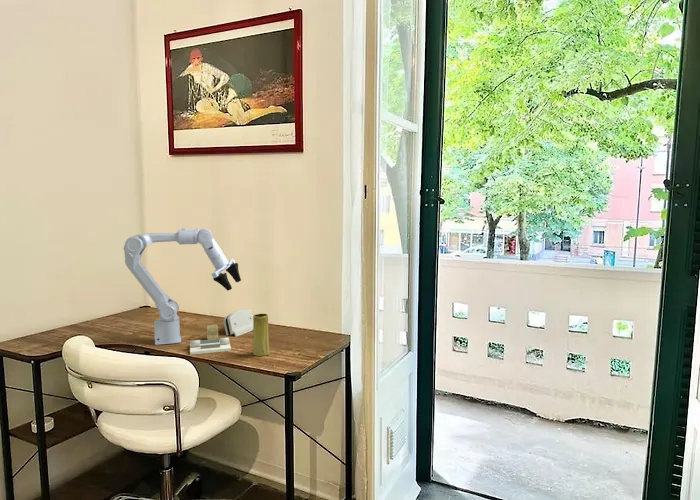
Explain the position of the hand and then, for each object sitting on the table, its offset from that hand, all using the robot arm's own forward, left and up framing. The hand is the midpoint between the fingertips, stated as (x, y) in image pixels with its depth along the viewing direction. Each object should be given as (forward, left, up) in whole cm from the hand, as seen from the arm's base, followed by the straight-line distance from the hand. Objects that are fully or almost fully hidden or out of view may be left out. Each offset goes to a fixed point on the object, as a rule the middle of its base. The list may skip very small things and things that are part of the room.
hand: (234, 285), depth 199 cm
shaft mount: (-10, -12, -21) cm, 26 cm away
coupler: (-9, -1, -21) cm, 23 cm away
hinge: (+3, +9, -22) cm, 24 cm away
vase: (+7, -25, -21) cm, 34 cm away
